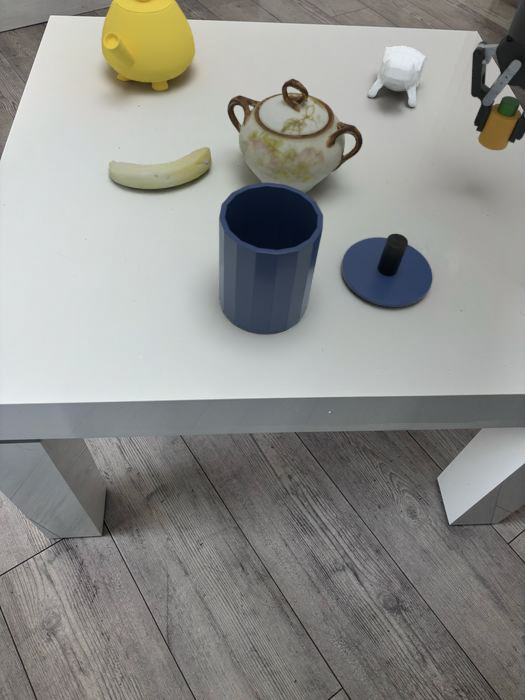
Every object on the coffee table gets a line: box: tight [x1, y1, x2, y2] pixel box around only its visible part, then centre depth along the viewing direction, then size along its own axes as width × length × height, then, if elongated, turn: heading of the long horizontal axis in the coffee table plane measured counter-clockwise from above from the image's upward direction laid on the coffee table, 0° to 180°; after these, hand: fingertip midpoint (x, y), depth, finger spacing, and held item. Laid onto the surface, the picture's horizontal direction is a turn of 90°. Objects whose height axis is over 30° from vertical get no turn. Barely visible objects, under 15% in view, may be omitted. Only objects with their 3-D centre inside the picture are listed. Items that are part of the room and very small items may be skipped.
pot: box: [218, 182, 324, 335], centre depth 62 cm, size 11×11×14 cm
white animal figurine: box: [367, 45, 428, 108], centre depth 94 cm, size 9×8×15 cm
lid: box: [341, 233, 433, 308], centre depth 69 cm, size 12×12×6 cm
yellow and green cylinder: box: [477, 95, 522, 151], centre depth 73 cm, size 4×4×6 cm
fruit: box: [108, 146, 212, 190], centre depth 78 cm, size 7×15×3 cm, turn 102°
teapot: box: [100, 0, 196, 92], centre depth 89 cm, size 20×16×14 cm
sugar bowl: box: [226, 78, 364, 193], centre depth 76 cm, size 20×15×15 cm
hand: (496, 133), depth 74 cm, fingers closed on yellow and green cylinder, 4 cm apart
